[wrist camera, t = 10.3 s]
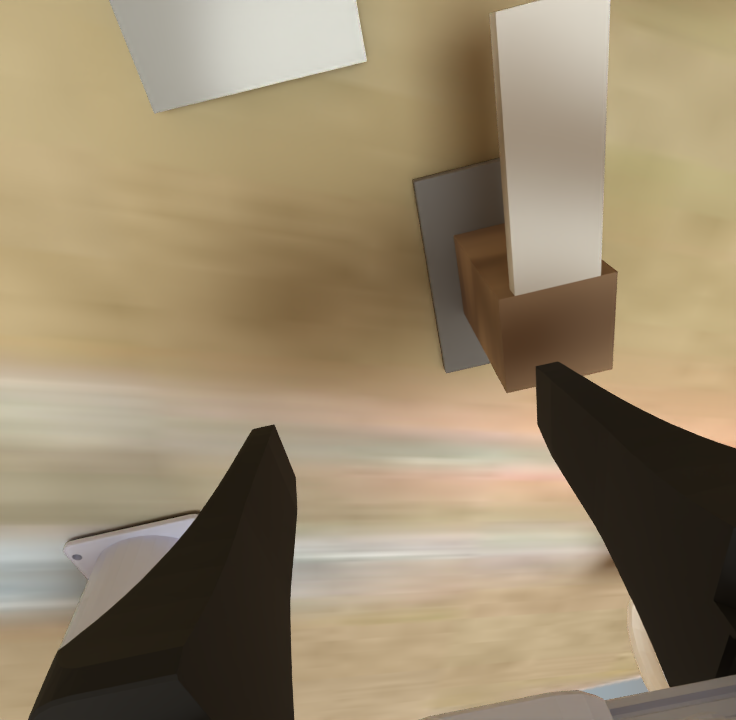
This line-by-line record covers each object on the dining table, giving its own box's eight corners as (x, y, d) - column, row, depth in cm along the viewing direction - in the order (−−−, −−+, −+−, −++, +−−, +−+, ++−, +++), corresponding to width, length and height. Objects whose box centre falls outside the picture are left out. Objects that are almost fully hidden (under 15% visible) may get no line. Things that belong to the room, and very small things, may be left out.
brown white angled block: (544, 293, 22) (612, 369, 17) (463, 312, 22) (506, 393, 17) (535, -4, 16) (633, -25, 11) (425, 25, 16) (473, 17, 11)
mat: (568, 340, 24) (571, 344, 24) (444, 368, 24) (446, 373, 24) (567, 141, 19) (572, 142, 19) (412, 179, 19) (414, 182, 19)
